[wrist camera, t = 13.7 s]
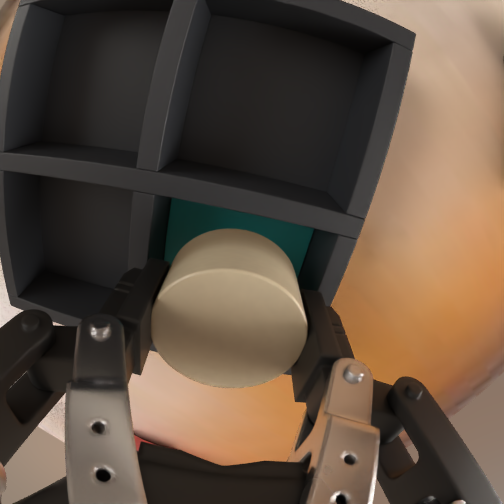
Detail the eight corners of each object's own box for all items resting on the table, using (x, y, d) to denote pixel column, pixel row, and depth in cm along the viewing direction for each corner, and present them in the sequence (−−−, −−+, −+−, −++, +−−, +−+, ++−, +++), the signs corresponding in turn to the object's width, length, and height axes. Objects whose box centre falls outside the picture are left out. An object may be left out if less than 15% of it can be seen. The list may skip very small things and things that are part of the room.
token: (176, 214, 10) (152, 252, 8) (313, 244, 11) (332, 288, 8) (164, 322, 13) (147, 373, 10) (276, 344, 13) (281, 396, 10)
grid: (63, 6, 9) (23, -9, 5) (379, 47, 10) (416, 33, 7) (41, 273, 15) (10, 305, 12) (289, 330, 17) (297, 376, 14)
